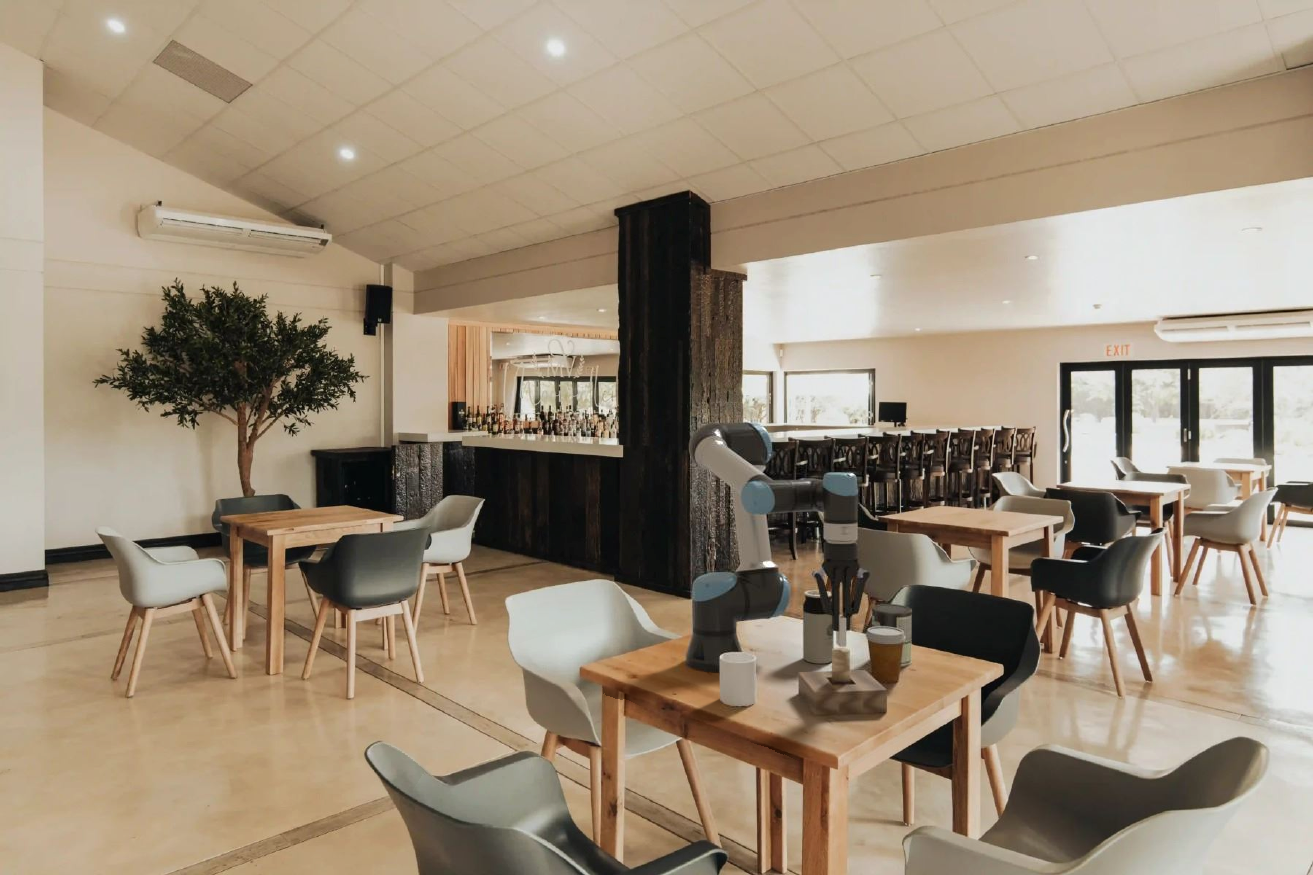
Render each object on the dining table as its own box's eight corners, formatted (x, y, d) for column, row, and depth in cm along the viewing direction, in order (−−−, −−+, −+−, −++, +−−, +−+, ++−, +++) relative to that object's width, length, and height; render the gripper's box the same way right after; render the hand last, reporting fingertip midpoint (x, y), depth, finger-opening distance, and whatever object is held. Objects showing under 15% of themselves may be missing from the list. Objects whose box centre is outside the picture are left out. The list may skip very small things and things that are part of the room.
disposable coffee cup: (904, 674, 200) (903, 626, 200) (907, 686, 191) (907, 636, 191) (865, 671, 202) (864, 624, 202) (866, 683, 193) (866, 634, 193)
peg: (835, 706, 178) (834, 653, 178) (829, 699, 182) (829, 647, 182) (852, 705, 179) (852, 652, 178) (847, 699, 183) (846, 647, 182)
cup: (713, 703, 181) (713, 659, 180) (735, 688, 191) (735, 646, 191) (747, 710, 176) (747, 664, 176) (767, 693, 187) (767, 650, 187)
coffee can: (876, 666, 206) (876, 612, 206) (867, 655, 217) (867, 603, 216) (917, 667, 206) (916, 612, 206) (905, 655, 216) (905, 603, 216)
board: (815, 715, 173) (815, 692, 173) (798, 693, 187) (798, 672, 187) (886, 712, 174) (886, 689, 174) (865, 690, 188) (864, 669, 188)
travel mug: (797, 659, 214) (796, 592, 213) (817, 653, 218) (816, 588, 218) (819, 666, 207) (819, 597, 207) (839, 660, 212) (839, 593, 212)
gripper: (817, 544, 175) (817, 650, 176) (874, 542, 177) (875, 648, 177) (807, 539, 183) (808, 641, 183) (863, 538, 184) (863, 639, 184)
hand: (841, 644), depth 180 cm, fingers closed
